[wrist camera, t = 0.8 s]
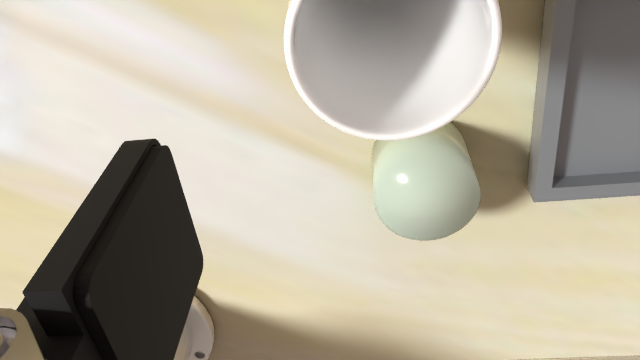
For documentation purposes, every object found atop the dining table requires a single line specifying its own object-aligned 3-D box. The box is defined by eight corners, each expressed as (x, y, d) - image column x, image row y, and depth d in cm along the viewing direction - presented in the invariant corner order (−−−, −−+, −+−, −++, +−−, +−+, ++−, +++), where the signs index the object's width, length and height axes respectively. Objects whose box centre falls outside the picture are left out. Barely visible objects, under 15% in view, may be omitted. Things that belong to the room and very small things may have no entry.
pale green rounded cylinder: (464, 189, 38) (478, 237, 34) (374, 196, 39) (377, 243, 34) (466, 109, 35) (482, 150, 30) (368, 117, 35) (371, 159, 31)
